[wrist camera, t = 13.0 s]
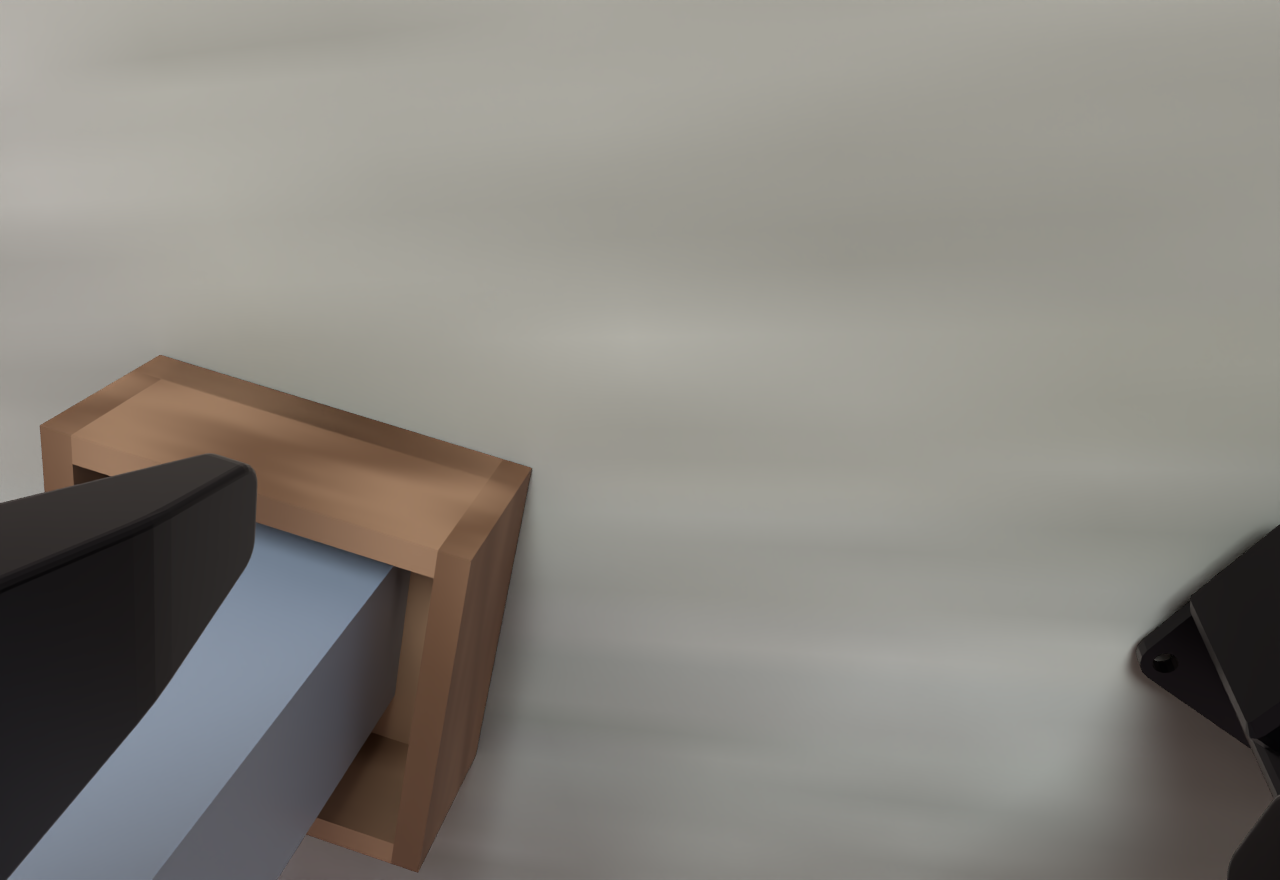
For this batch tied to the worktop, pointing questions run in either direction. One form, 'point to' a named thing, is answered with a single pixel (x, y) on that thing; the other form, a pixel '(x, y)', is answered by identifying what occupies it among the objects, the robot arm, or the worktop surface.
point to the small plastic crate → (244, 726)
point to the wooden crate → (359, 523)
